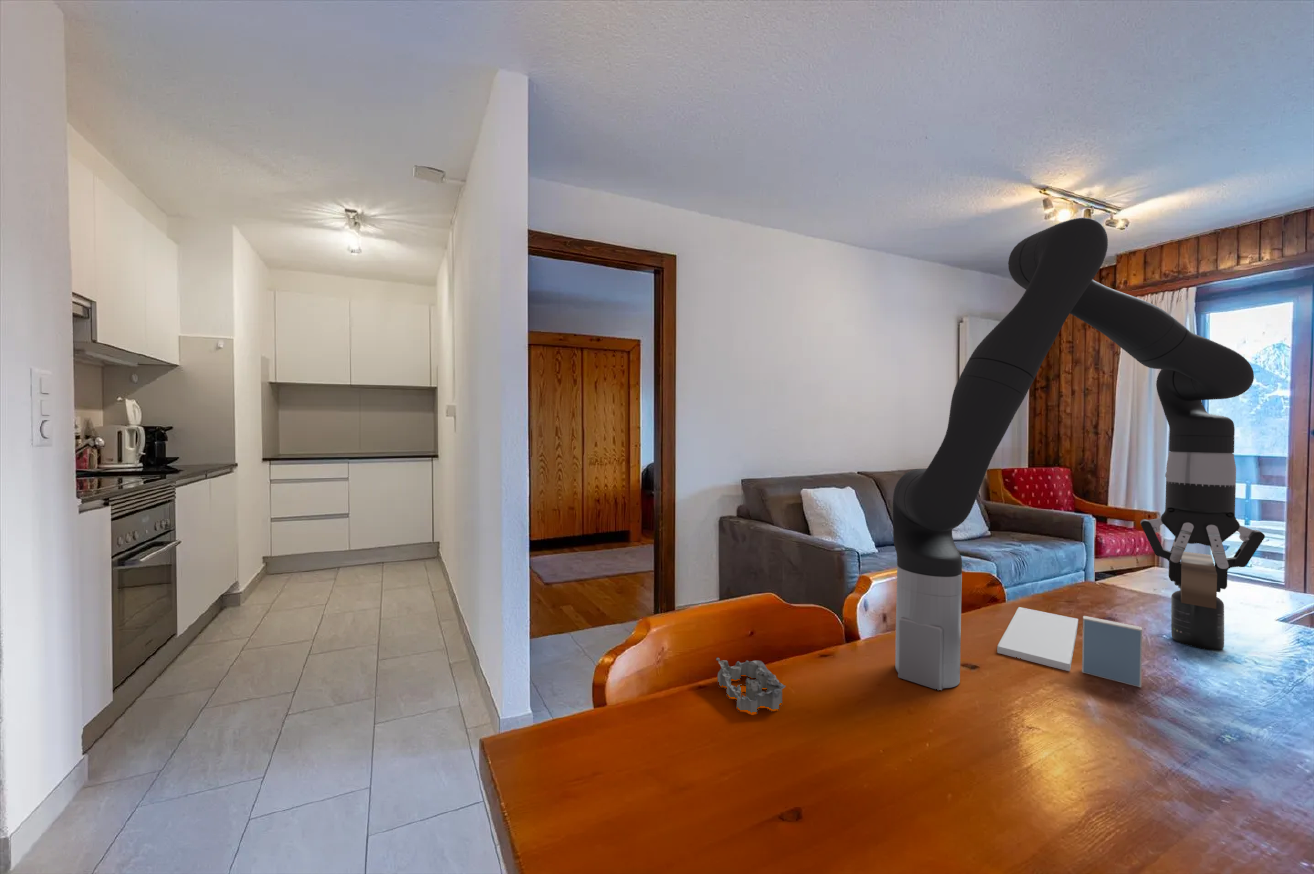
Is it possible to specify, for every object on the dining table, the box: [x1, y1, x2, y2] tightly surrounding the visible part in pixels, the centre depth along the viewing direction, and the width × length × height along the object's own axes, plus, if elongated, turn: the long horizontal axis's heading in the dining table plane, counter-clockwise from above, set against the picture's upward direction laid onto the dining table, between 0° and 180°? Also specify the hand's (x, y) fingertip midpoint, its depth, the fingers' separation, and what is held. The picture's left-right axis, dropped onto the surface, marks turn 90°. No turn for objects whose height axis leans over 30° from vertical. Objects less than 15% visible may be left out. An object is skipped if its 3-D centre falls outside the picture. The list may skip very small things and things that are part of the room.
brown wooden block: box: [1180, 551, 1218, 609], centre depth 79 cm, size 18×4×5 cm, turn 133°
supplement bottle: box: [1170, 586, 1225, 651], centre depth 94 cm, size 7×7×12 cm
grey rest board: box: [996, 606, 1079, 672], centre depth 95 cm, size 28×10×1 cm, turn 137°
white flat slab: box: [1081, 615, 1143, 688], centre depth 80 cm, size 2×7×9 cm, turn 47°
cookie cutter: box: [715, 657, 787, 713], centre depth 73 cm, size 11×8×4 cm
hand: (1196, 587), depth 79 cm, fingers closed on brown wooden block, 3 cm apart
